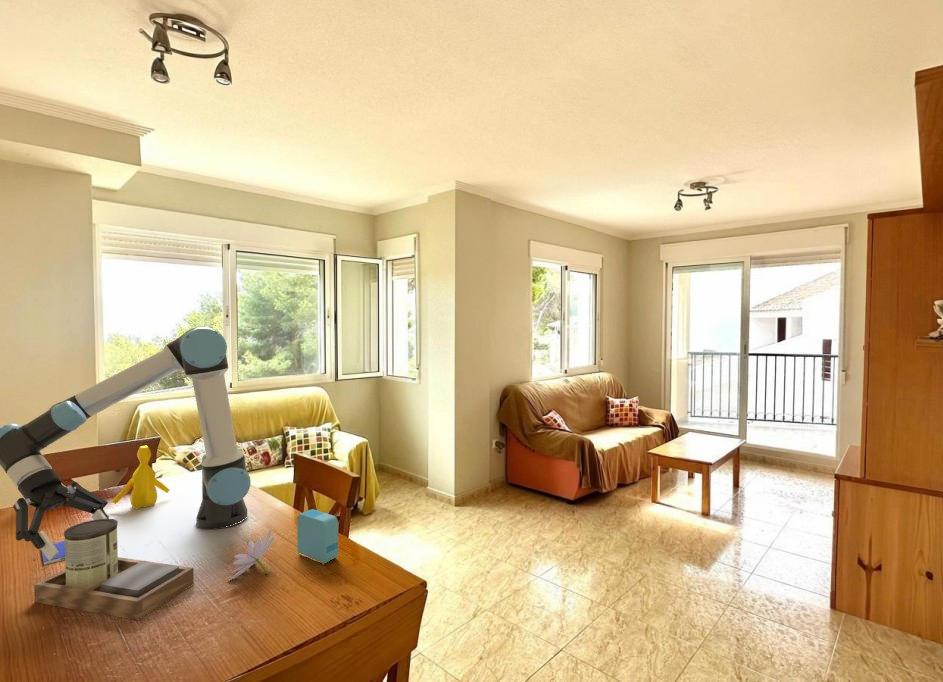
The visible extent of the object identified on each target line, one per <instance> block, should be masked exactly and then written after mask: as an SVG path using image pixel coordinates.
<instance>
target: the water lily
mask: <svg viewBox="0 0 943 682" xmlns="http://www.w3.org/2000/svg"><path fill="white" fill-rule="evenodd" d="M271 534H272V528H270V530H268V532H267V533H266V535H265V536H264V538H263V537H259V538H258V539H257V540H256V542H255V543H254V541H253V540H249V541H248V544H247V547H246V549H247V552H248V553H238V554H236V555H234V556H233V557H234V558H235V559H236V560H235V559H233V562H232V565H233V566H234V565H235V566H240V567H237V568H235V569H234V570H232V571H231V572H230V573H231V574H233V573H235V574H233V575H232V577H230V578H229V580H228V581H229V582H231V581H232V579H233V580H234V579H236V578H238V577H240V576H241V575H243V573H245V572H246V571H247V570H249V569H250V567H252V566H254V565H256V564H258V566H260V568H261V569H262V570H263V572H264V573H265V574H266V573H267V575H268V574H269V573H268V572H269V571H268V570H267V568H266V567H265V566H264V565H263V564H262V562H261V560H260V558H261V557H262V556H263V555H265V553H266V552H267V551H268V550H269V549H270V547H271V545H272V544H273V542H274V541H275V538H276V535H274V536H273V537H271V539H270V536H271ZM262 538H263V539H262ZM230 580H231V581H230Z"/></svg>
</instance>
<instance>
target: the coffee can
mask: <svg viewBox="0 0 943 682" xmlns="http://www.w3.org/2000/svg"><path fill="white" fill-rule="evenodd" d="M118 523H119V522H118V520H116V519H114V518H109V519H97V520H93V519H91V520H87V521H84V522H80V523H78V524H75V525H72V526H70V527H69V528H67V529H66V530H64V532H63V536H64V541H65V560H64V562H65V570H66V586H69V587H75V588H81V589H87V590H88V589H90V588H92V587H94V586H95V585H97V584H99V583H101V582H103V581H105V580H107V579H109V578H111V577H113V576H115V575H117V574H118V557H119V556H118V555H119V554H118V551H119V550H118V547H119V546H118V526H119V524H118Z"/></svg>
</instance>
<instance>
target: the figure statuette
mask: <svg viewBox="0 0 943 682" xmlns="http://www.w3.org/2000/svg"><path fill="white" fill-rule="evenodd" d="M136 453H137V454H136V456H137V459H138V461H139V464H138V466H137V468H136V469H135V470H134V472H133V473H132V477H131V478H130V479H129V480H128V482H127V483H126V485H125V486H124V487H123V489H121V490H120V491H119V492H118V493H117V495H116V496H115V497H114V498H113V499H112V501H111V503H113V504H117V503H118V502H120V500H121V499H122V498H123V497H124V496H125V495H126V494H127V493H128V492H129V491H130V490H131V489H132V490H131V492H130V497H129V498H130V500H129V501H130V504H131V506H132V508H133V509H134V510H137V509H141V507H142V508H146V507H151V506H154V505H155V504H156V503H157V499H158V492H157V489H156V488H158V489H160V491H162V492H164V493H166V494H167V493H169V492H170V491H171V490H170V488H169V487H167V486H166V485H165V484H164V483H163V482H161V481H160V480H158V479H157V477H156V472H155V470H154V469H153V467H151V466H150V465H149V462H150V460H151V457H152V452H151V449H150V447H149V446H148V445H141V446H139V448H138V451H137V452H136ZM150 505H151V506H150ZM145 506H146V507H145Z"/></svg>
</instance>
